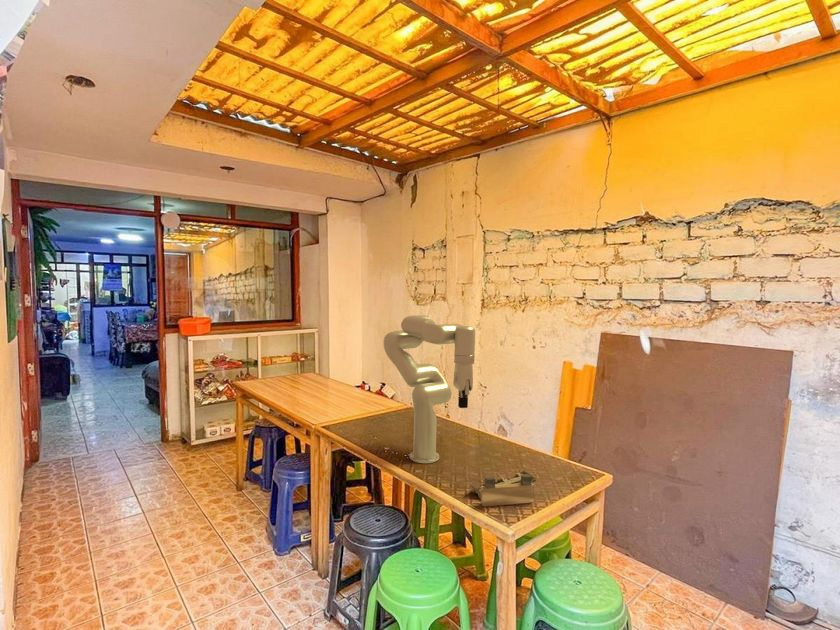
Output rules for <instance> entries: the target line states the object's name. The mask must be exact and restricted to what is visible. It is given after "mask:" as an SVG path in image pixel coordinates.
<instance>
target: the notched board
mask: <svg viewBox="0 0 840 630" xmlns="http://www.w3.org/2000/svg"><path fill="white" fill-rule="evenodd" d="M532 476H533V475H531V474H530V473H528V474H523V475H521V483H516V484H503V485H495V482H496V478H495V477H494V476H485V477H484V482H485V484H484V483H483V484H484V486H483V485H481V486H482V489H481V499H480V504H481V506H482V507H493V506H504V505H505V506H506V505H516V504H517V505H518V504H530V503H534V499H535V484H534V483H533V481H532Z"/></svg>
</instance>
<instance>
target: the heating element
mask: <svg viewBox="0 0 840 630" xmlns="http://www.w3.org/2000/svg"><path fill="white" fill-rule="evenodd" d="M523 474H529V472H526V471H525V470H523V471H521V472H517V473H516V474H515V475H514V476H513V477H512V478H511V477H509V478H508V477H507V478H504V477H503V476H502V477H500V478H498V479H497V480H496V481H495V485H503V484H516V483H521V475H523ZM531 476H532V482H534V481H536V480H537V478H535V477H534V476H533V475H531ZM468 484H469V486H470V491H471V493H472V494H477V497H478V498H479V499H480V500H481V489H482V486H484V484H485V481H484V482H483V485H481V486H480V487H476V486H474V485H472V484H471V483H469V482H468Z"/></svg>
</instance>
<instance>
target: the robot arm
mask: <svg viewBox="0 0 840 630" xmlns="http://www.w3.org/2000/svg"><path fill="white" fill-rule="evenodd" d="M400 328H401V330H394V331H390V332H388V333H386V335H384V339H383V349H384V352H385V354H386V355H387V357H388V359H389V360H390V361H391V362H392V363H393V365H394V366H395V367H396V369H397V371H398V372H399V373H400V376H401V377H402V378H403V380H404V382H405V383H406V385H407V386H409V387H411V388H413V390H412V392H411V399H412V405H413V444H412V445H413V446H412V447H413V448H412V449H413V450H412V451H411V452H410V453H409V459H410V460H411V461H413V462H414V463H418V464H433V463H435V462H438V461H439V459H440V453H438V452H437V424H438V423H437V421H438V420H437V418H438V417H437V414H436V412H435V410H434V408H433V407H434V406H437V405H442V404H443V405H444V404H446V403H448V402H449V401H450V400H451V399H452V390H451V387H450V385H449V383H448V382H447V380H446V379H445V378H444V376H443V375H442V373H441V372H440V370H439V369H438V367H436V366H435V365H434V364H432V363H422V364H419V363H418V362H416V360H415V358H414V357H413V356H412V355H411V354H410V353H409V352H407V351H406V349H407V350H409V349H415V348H418V347H419V346H421V345H422V344H423V342H425V343H428V344H429V343H430V344H434V345H450V344H454V356H453V357H454V359H453V361H454V362H453V363H454V368H453V369H454V370H453V371H454V372H453V387H454V388H456V390H458V391H457V392H458V399H457V400H458V404H457V407H458V409H459V408H460V409H468V407H469V406H468V404H469V403H468V402H469V396H470V392H471V391H472V390H473V386H474V385H473V384H474V382H473V381H474V379H473V378H474V375H473V374H474V372H473V371H474V370H473V365H474V364H475V355H476V354H475V351H476V345H475V344H476V329H475V327H474V326H469V325H462V324H460V323H459V324H457V323H454V324H453V323H451V324H450V323H449V324H448V323H447V324H446V323H445V324H436V322H435V320H433V319H432V318H431V317H430V316H429V315H424V314H423V315H422V314H421V315H407V316H405V317H404V318H403V319H402V321H401V323H400ZM404 349H405V350H404Z"/></svg>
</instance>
